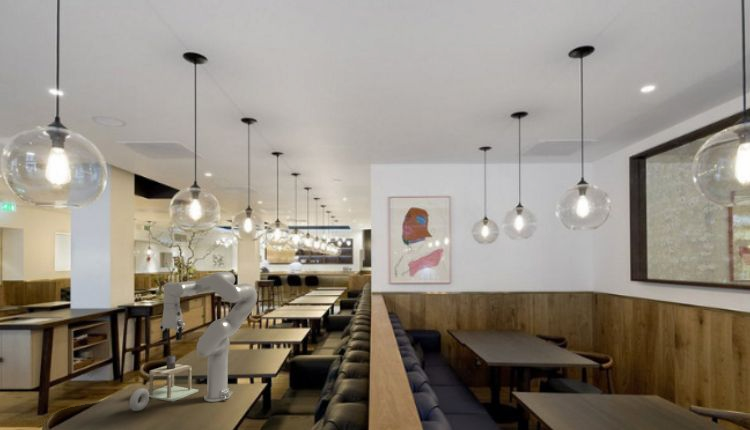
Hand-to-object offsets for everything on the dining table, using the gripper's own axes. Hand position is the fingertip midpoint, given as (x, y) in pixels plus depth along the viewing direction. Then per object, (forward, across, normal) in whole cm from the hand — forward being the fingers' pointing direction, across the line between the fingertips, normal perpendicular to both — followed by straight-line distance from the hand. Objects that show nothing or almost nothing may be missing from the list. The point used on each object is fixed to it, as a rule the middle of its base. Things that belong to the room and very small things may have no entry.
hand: (172, 339), depth 221 cm
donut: (+28, -5, +22) cm, 36 cm away
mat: (+28, +1, 0) cm, 28 cm away
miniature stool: (+27, +1, 0) cm, 27 cm away
